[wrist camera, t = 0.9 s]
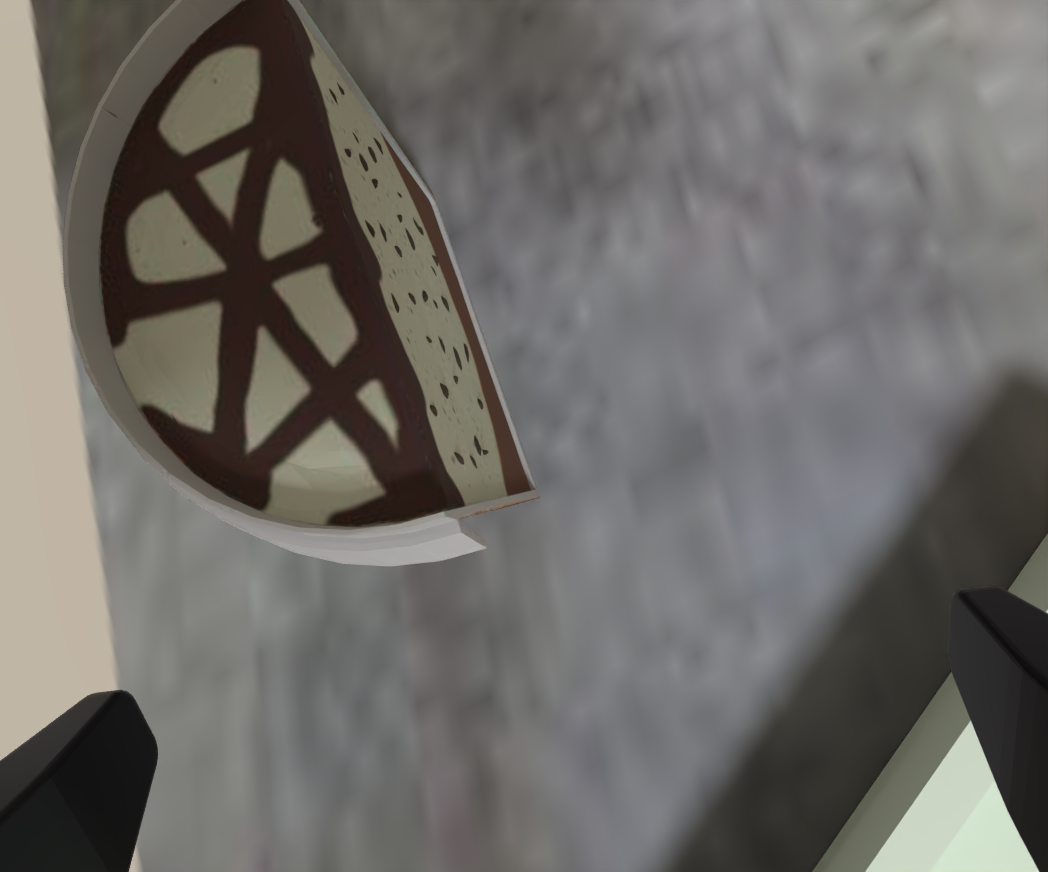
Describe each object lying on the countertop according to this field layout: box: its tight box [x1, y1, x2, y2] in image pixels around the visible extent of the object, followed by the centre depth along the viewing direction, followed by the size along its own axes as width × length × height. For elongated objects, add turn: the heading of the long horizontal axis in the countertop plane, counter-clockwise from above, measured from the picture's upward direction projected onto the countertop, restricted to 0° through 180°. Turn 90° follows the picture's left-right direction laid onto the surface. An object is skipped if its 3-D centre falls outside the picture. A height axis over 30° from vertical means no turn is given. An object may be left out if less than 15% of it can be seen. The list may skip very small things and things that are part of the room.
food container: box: [63, 0, 540, 566], centre depth 20 cm, size 12×6×10 cm, turn 20°
